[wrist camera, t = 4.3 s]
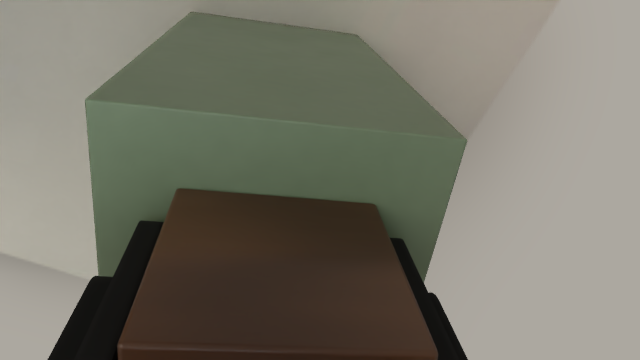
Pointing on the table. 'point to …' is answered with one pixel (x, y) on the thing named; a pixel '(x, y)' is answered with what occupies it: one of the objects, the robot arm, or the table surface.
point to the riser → (266, 130)
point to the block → (273, 284)
